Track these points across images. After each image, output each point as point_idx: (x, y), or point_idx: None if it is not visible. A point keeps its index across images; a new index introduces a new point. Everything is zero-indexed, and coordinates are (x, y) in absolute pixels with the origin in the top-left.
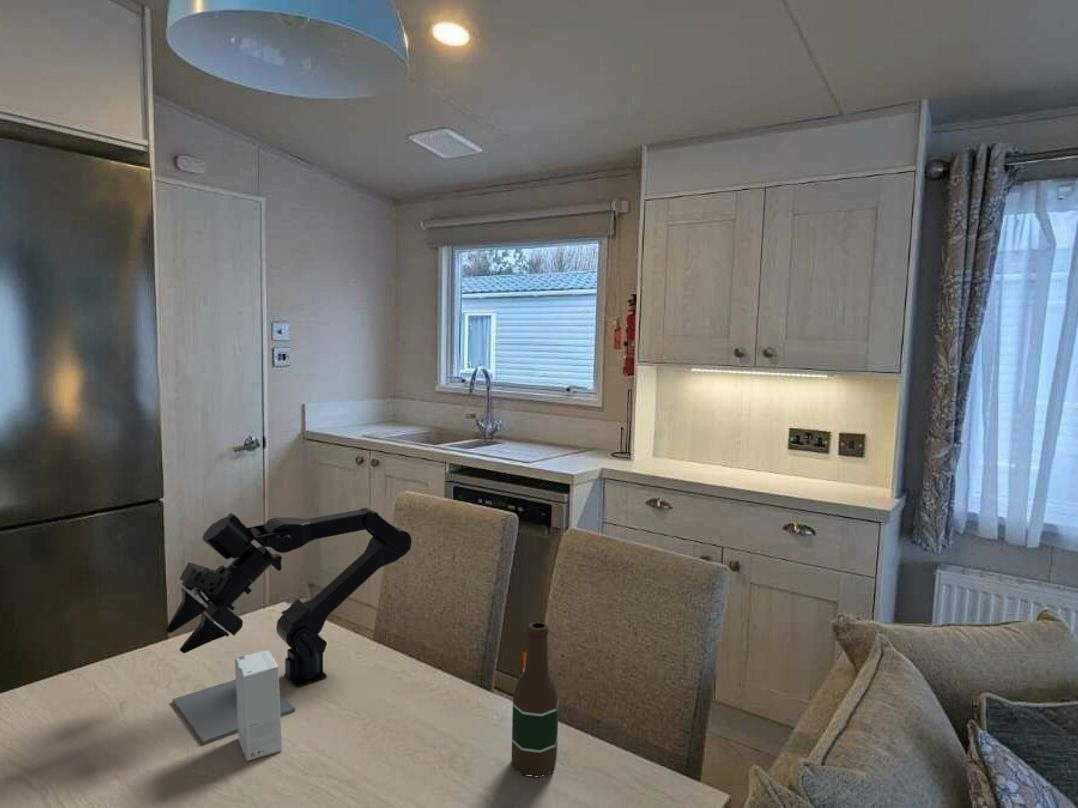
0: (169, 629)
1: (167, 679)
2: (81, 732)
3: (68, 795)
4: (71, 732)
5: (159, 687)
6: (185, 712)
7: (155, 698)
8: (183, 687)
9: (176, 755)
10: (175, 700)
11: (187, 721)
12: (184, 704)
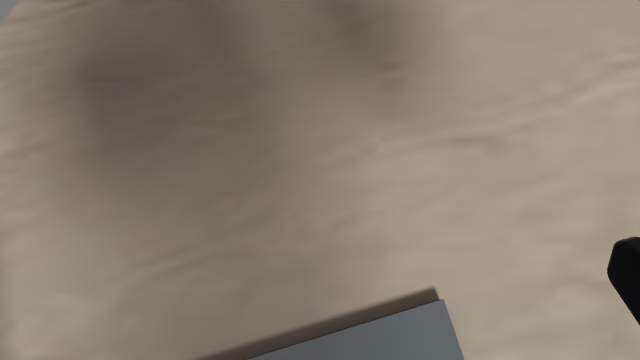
0: (629, 267)
1: None
2: (344, 48)
3: (5, 43)
4: (356, 25)
5: (570, 251)
6: (316, 348)
7: (489, 240)
8: (545, 336)
9: (45, 319)
10: (428, 309)
11: (259, 355)
12: (383, 343)
